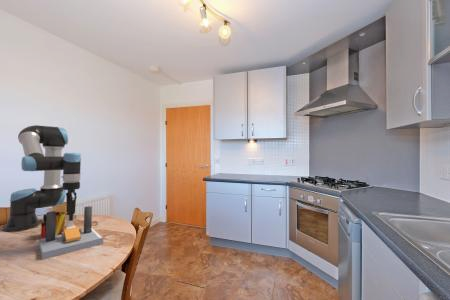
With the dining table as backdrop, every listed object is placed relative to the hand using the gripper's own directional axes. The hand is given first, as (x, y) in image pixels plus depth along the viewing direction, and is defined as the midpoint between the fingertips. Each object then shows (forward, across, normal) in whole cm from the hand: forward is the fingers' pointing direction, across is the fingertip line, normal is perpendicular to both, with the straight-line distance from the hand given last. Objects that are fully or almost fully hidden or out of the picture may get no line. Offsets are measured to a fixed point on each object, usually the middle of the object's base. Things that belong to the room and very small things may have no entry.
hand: (70, 226), depth 111 cm
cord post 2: (+5, 0, +8) cm, 10 cm away
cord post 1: (+5, 0, -8) cm, 10 cm away
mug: (+8, -16, -5) cm, 18 cm away
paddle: (+2, +4, 0) cm, 5 cm away
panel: (+8, +4, 0) cm, 9 cm away
